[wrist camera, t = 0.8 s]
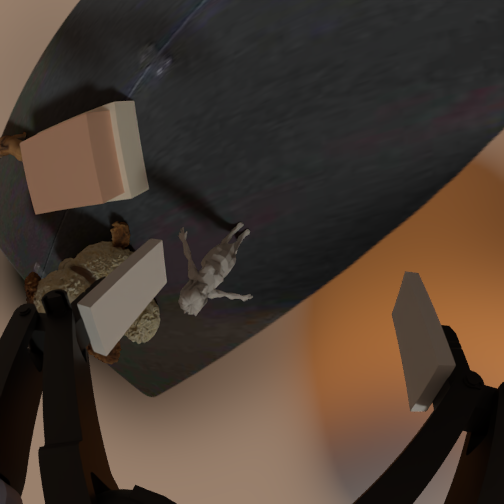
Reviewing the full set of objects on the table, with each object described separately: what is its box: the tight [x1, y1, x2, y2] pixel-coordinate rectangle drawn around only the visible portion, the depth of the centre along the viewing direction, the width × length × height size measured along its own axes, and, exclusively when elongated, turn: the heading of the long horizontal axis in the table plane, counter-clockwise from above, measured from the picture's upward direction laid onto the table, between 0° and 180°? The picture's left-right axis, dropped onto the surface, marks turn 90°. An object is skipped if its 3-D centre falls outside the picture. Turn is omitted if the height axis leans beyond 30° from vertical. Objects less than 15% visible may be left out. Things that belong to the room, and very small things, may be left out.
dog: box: [25, 221, 160, 364], centre depth 44 cm, size 23×19×20 cm
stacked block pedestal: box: [20, 101, 149, 214], centre depth 40 cm, size 14×18×10 cm
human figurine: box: [178, 223, 253, 316], centre depth 37 cm, size 12×4×18 cm, turn 45°
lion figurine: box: [0, 132, 26, 161], centre depth 42 cm, size 15×5×9 cm, turn 80°
